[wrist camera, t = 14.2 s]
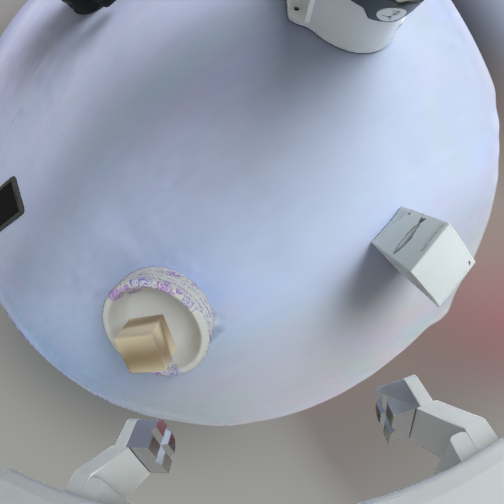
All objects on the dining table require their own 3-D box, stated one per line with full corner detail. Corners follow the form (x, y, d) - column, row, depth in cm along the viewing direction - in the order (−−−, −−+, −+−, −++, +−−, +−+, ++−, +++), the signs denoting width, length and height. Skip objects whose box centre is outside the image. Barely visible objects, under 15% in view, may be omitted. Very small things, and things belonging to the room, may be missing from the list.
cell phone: (-18, 205, 39) (-20, 206, 38) (16, 174, 37) (13, 174, 36) (-8, 238, 41) (-11, 239, 40) (26, 211, 39) (24, 212, 38)
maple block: (129, 319, 35) (113, 339, 30) (163, 314, 34) (150, 335, 29) (143, 350, 36) (130, 373, 31) (176, 347, 36) (166, 370, 31)
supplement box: (401, 204, 38) (451, 220, 25) (428, 238, 39) (477, 263, 27) (368, 241, 39) (409, 271, 27) (398, 273, 40) (440, 309, 28)
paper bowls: (143, 352, 45) (127, 381, 38) (109, 270, 41) (84, 289, 34) (228, 340, 44) (223, 372, 36) (200, 248, 40) (187, 267, 32)
